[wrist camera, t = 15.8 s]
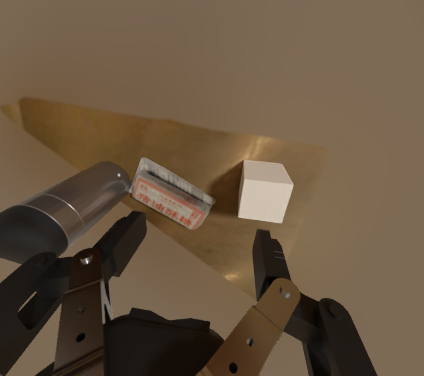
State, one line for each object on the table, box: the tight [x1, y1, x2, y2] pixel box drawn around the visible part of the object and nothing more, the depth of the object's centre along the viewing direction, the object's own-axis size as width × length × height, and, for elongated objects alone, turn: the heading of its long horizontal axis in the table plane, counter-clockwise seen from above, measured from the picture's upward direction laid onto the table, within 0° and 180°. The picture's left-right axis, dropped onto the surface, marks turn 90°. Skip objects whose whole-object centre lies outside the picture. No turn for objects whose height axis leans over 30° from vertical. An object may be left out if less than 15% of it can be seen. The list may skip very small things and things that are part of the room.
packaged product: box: [129, 157, 216, 230], centre depth 40 cm, size 18×5×10 cm
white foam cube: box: [238, 160, 294, 223], centre depth 33 cm, size 7×7×9 cm
